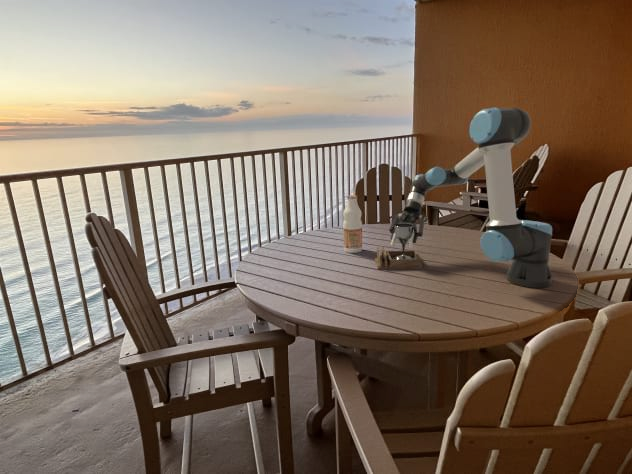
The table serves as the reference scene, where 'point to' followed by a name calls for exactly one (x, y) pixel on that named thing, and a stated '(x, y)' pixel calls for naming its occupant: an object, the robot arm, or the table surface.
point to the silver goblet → (403, 236)
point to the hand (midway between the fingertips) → (400, 247)
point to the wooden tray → (398, 260)
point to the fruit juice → (352, 226)
